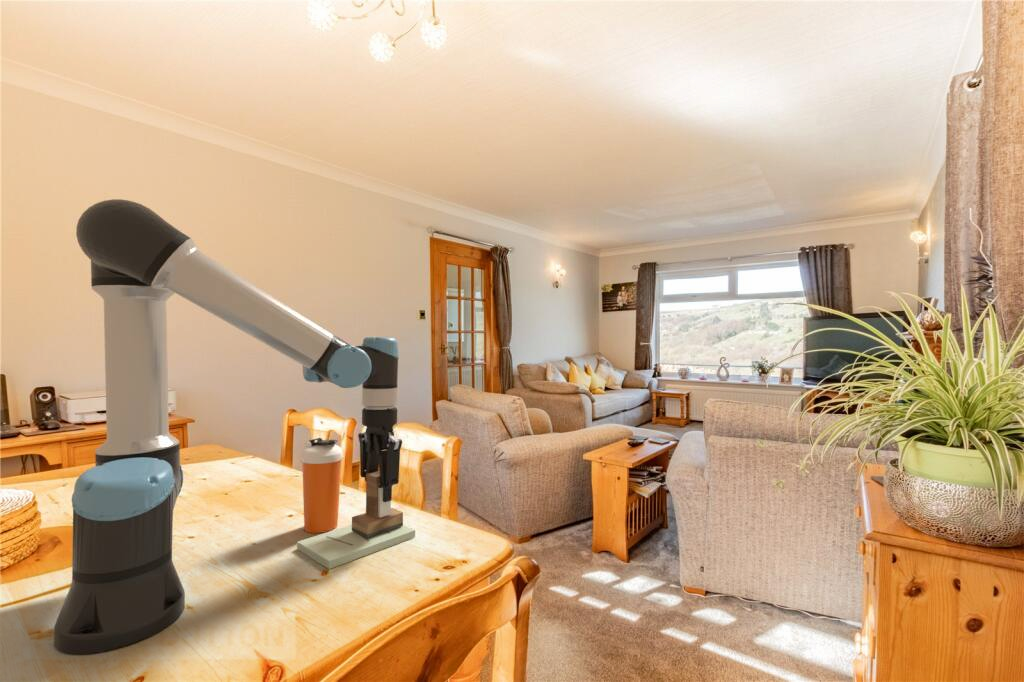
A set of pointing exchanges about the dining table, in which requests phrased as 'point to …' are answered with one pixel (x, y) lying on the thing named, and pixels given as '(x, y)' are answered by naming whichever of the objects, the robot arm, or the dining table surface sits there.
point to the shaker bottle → (321, 484)
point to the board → (349, 544)
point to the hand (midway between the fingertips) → (378, 513)
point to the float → (375, 512)
